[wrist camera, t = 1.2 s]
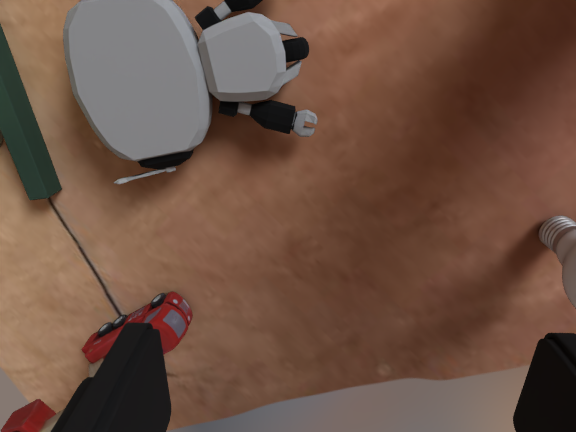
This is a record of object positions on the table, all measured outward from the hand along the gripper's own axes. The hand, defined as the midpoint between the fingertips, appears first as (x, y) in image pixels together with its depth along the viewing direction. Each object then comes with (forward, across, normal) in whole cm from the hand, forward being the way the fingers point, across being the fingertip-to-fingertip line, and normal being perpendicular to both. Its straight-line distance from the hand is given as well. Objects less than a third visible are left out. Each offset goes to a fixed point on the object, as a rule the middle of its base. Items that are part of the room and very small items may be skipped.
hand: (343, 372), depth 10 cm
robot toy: (+22, +8, -5) cm, 24 cm away
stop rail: (+22, +22, -4) cm, 31 cm away
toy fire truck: (+22, +17, +18) cm, 33 cm away
